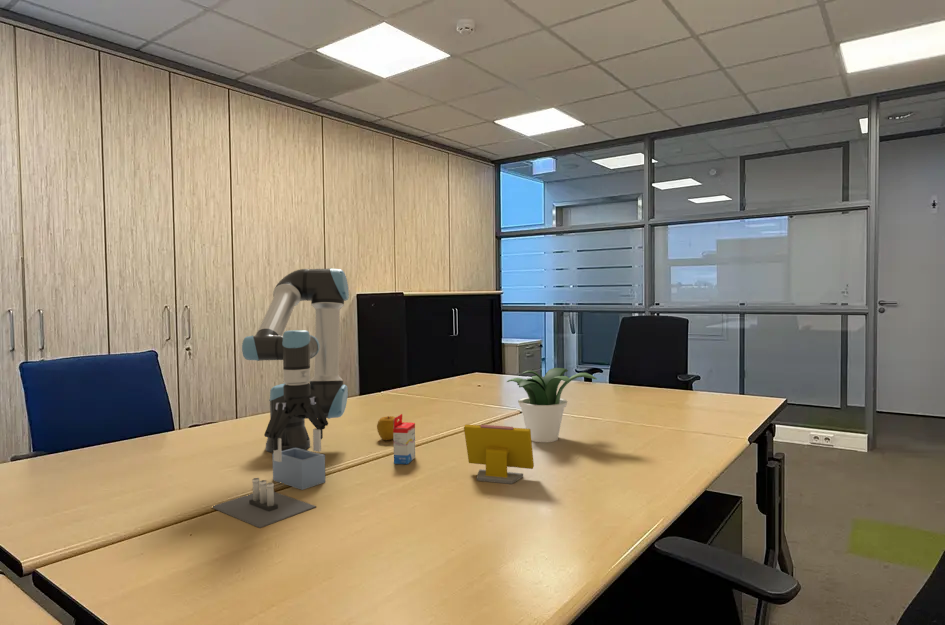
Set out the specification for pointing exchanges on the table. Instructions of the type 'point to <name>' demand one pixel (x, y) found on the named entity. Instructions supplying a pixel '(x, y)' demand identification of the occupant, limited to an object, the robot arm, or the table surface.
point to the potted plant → (544, 403)
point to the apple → (386, 427)
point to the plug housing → (299, 468)
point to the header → (263, 506)
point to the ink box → (403, 441)
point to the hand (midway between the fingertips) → (298, 455)
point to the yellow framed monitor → (499, 451)
